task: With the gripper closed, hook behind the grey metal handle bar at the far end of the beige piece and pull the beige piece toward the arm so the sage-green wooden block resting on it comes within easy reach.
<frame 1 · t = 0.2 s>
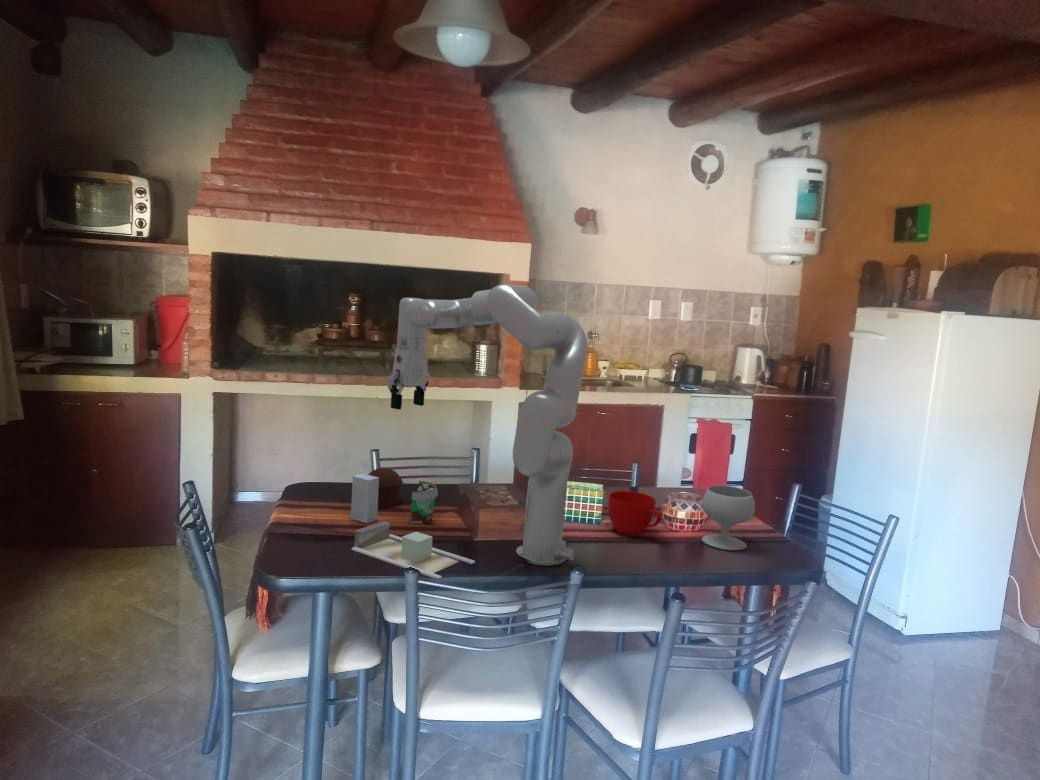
hand: (407, 406, 207), 31 cm above the table, fingers open, 9 cm apart
food container: (424, 523, 208), on the table
ceramic cup: (633, 534, 212), on the table
skincare box: (363, 520, 207), on the table
chalice: (723, 544, 210), on the table
block: (416, 557, 179), point 1 cm above the table, touching beige piece
muffin: (382, 503, 223), on the table
beige piece: (406, 547, 180), point 3 cm above the table, slide at 0.0 cm, touching block
lane rails: (412, 560, 180), on the table
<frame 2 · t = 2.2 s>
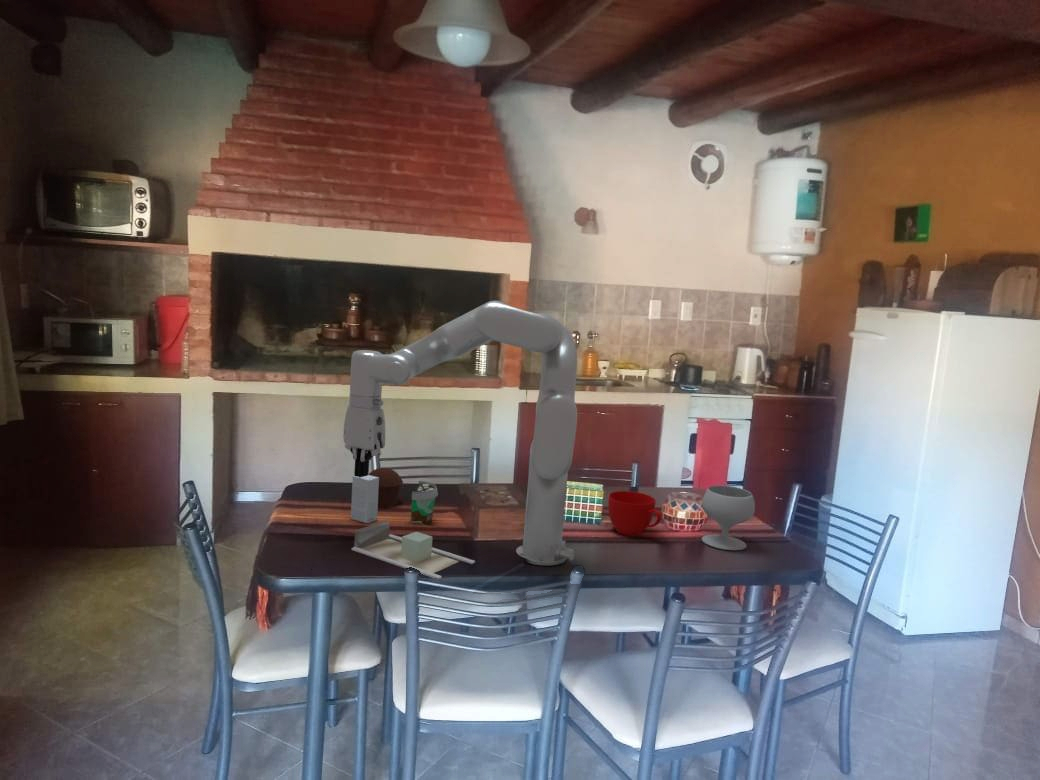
hand: (361, 475, 186), 17 cm above the table, fingers closed
nothing on the table moved.
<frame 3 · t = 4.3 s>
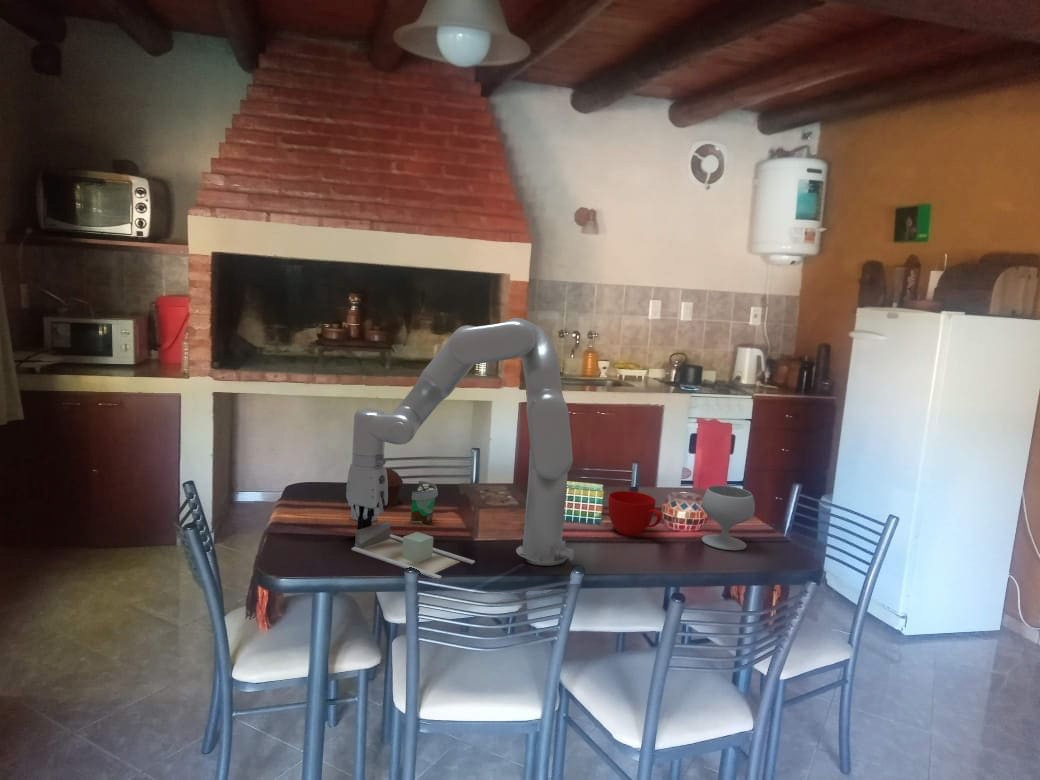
hand: (364, 532, 187), 3 cm above the table, fingers closed
beige piece: (407, 548, 180), point 3 cm above the table, slide at 0.3 cm, touching block, gripper
everything else where it was.
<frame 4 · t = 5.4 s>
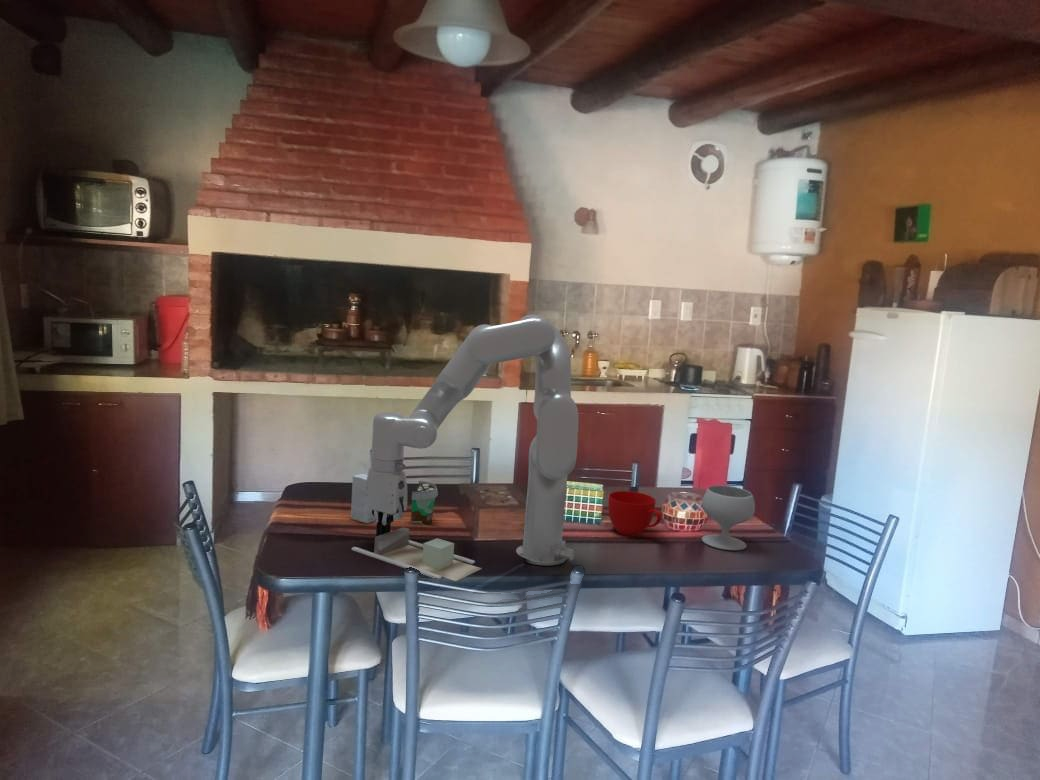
hand: (382, 538, 184), 3 cm above the table, fingers closed
block: (437, 564, 176), point 1 cm above the table, touching beige piece
beige piece: (427, 554, 177), point 3 cm above the table, slide at 6.4 cm, touching block, gripper
everything else where it was.
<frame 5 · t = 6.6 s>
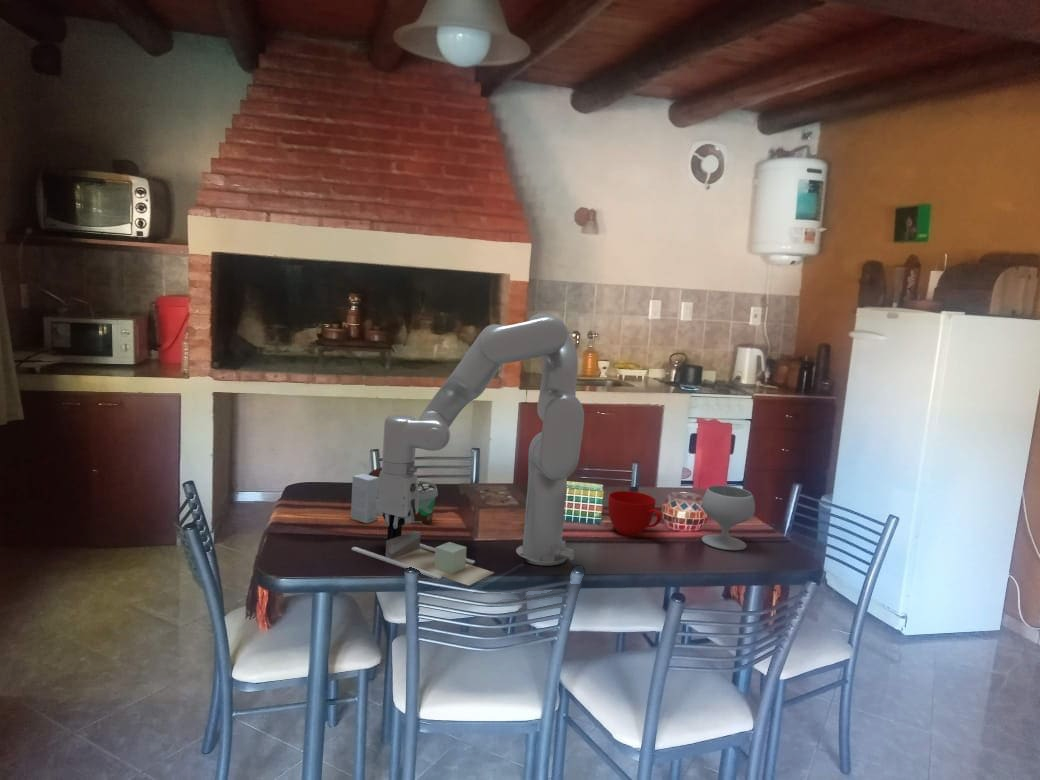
hand: (393, 542, 182), 3 cm above the table, fingers closed
block: (449, 568, 174), point 1 cm above the table, touching beige piece
beige piece: (439, 558, 175), point 3 cm above the table, slide at 9.9 cm, touching block, gripper
everything else where it was.
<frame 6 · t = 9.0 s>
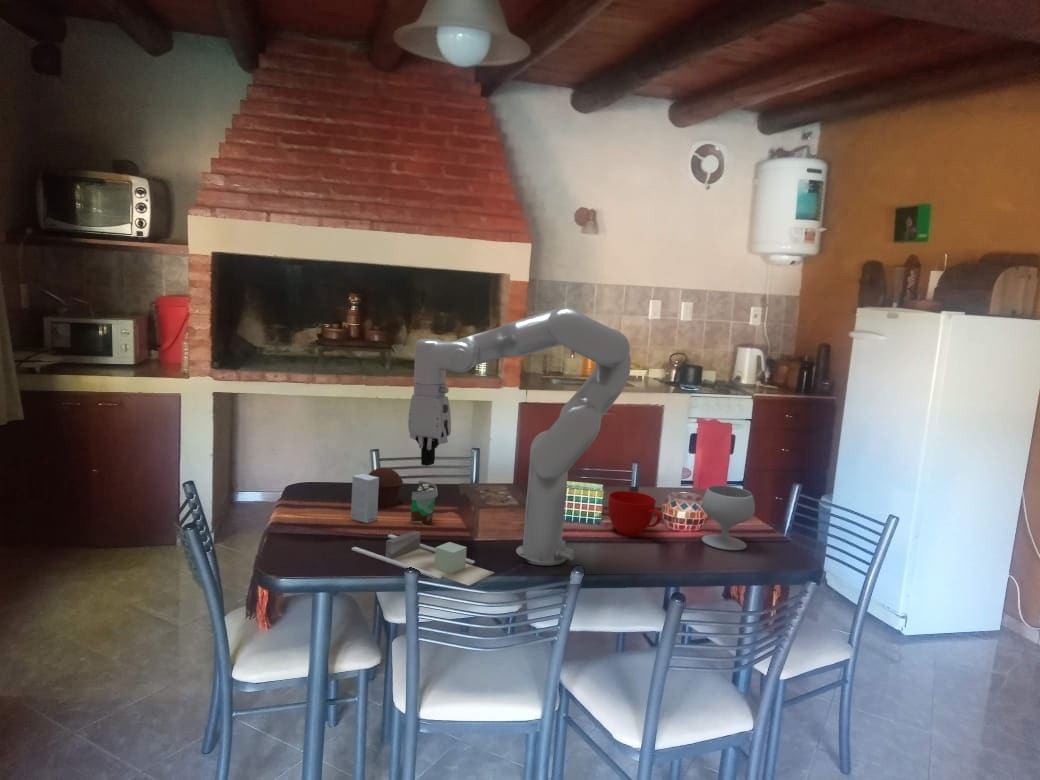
hand: (427, 464, 187), 21 cm above the table, fingers closed
beige piece: (439, 558, 175), point 3 cm above the table, slide at 9.9 cm, touching block
everything else where it was.
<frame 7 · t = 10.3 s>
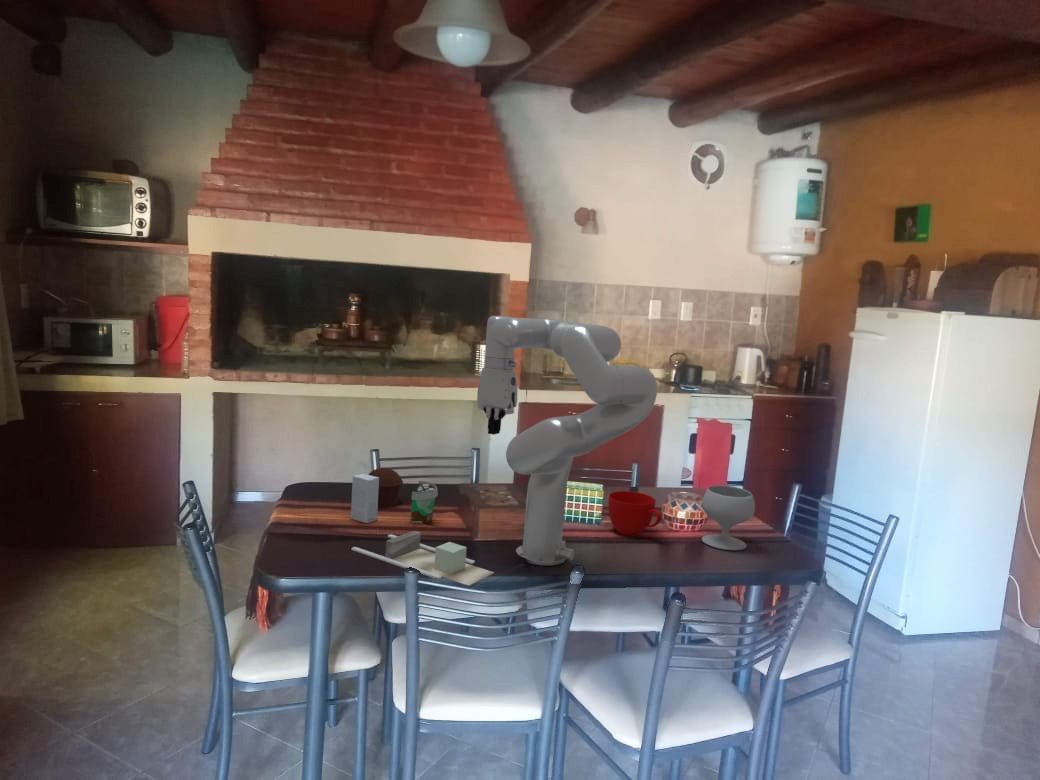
hand: (493, 433, 200), 27 cm above the table, fingers closed
nothing on the table moved.
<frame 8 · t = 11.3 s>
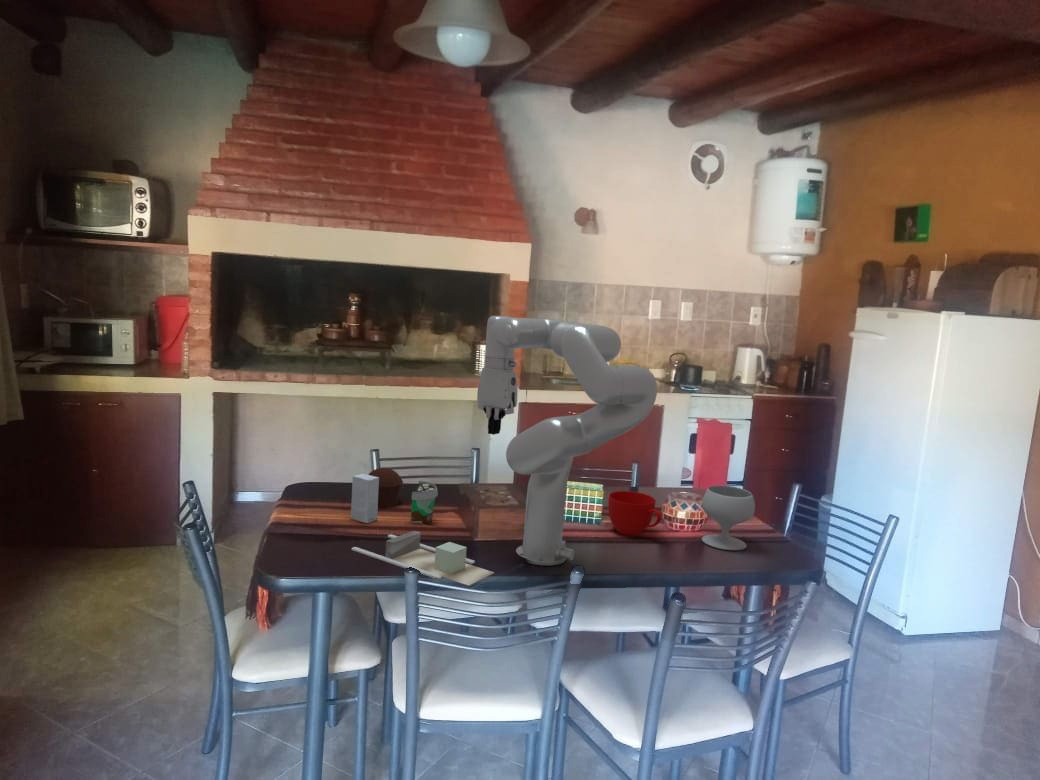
hand: (493, 433, 200), 27 cm above the table, fingers closed
nothing on the table moved.
at the end: beige piece slide at 9.9 cm; block inside the target area (0.9 cm from its centre), point 1.2 cm above the table; block tilted 0° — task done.
